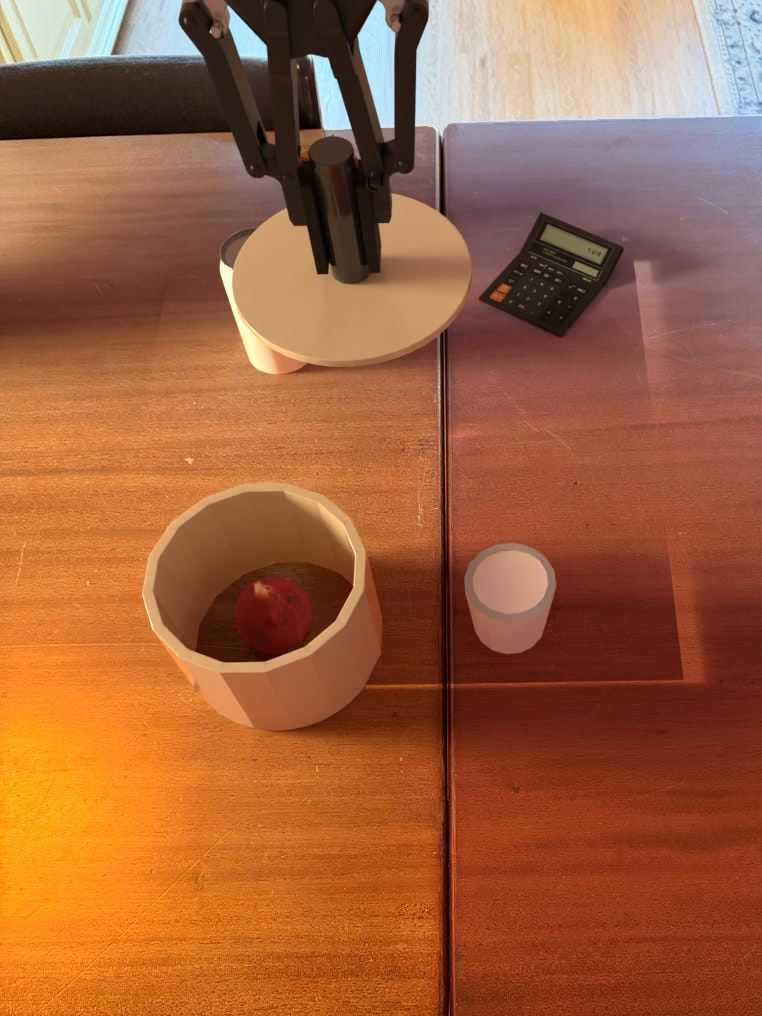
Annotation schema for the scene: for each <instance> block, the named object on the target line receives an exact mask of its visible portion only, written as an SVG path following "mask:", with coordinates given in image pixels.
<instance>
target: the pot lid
mask: <svg viewBox="0 0 762 1016" xmlns="http://www.w3.org/2000/svg"><path fill="white" fill-rule="evenodd" d="M310 145H311V146H310V147H309V149H307V150H308V157H309V162H310V167H311V172H312V177H313V182H314V187H315V192H316V197H317V202H318V207H319V212H320V218H321V223H322V228H323V233H324V238H325V243H326V248H327V253H328V258H329V272H328V274H321V275H317V271H316V266H315V262H314V257H313V252H312V248H311V243H310V239H309V234H308V229H307V226H294V225H293V224H292V223H291V221H290V220H289V215H288V211H287V207H285V208H283V209H282V210H280V211H278V212H277V213H275V214H273V215H272V216H271V217H269V218H268V219H267V220H266V221H264V222H263V223H262V224H260V225H259V226H260V227H259V228H258V229H256V230H255V231H254V232H253V234H252V235H251V236H250V237H249V238H248V240H247V241H246V242H245V244H244V245H243V247H242V249H241V250H240V252H239V254H238V256H237V259H236V261H235V264H234V268H233V273H232V293H233V298H234V301H235V304H236V307H237V310H238V313H239V315H240V317H241V319H242V320H243V322H244V324H245V325H246V326H247V328H248V329H249V330H250V331H251V333H252V334H254V335H255V336H256V337H257V338H258V339H259V340H260V341H261V342H262V343H264V344H265V345H267V346H268V347H270V348H271V349H273V350H275V351H277V352H279V353H281V354H283V355H285V356H287V357H290V358H293V359H295V360H298V361H302V362H306V363H307V364H310V365H316V366H324V367H331V368H352V367H365V366H370V365H376V364H382V363H385V362H389V361H391V360H395V359H398V358H401V357H403V356H405V355H408V354H410V353H412V352H415V351H416V350H418V349H421V348H423V347H424V346H427V344H429V343H430V342H432V341H433V340H435V339H436V338H437V337H438V336H440V335H441V334H442V333H443V332H444V331H445V330H447V329H448V327H449V326H450V325H451V324H452V323H453V322H454V321H455V320H456V319H457V317H458V316H459V314H460V313H461V311H462V310H463V308H464V306H465V304H466V301H467V300H468V298H469V294H470V290H471V287H472V279H473V277H472V276H473V268H472V267H473V266H472V259H471V254H470V251H469V247H468V245H467V243H466V241H465V239H464V237H463V235H462V234H461V233H460V231H459V229H457V227H456V226H455V224H453V223H452V222H451V221H450V220H449V218H447V217H446V216H445V215H443V214H442V213H440V212H439V211H438V210H436V209H434V208H433V207H431V206H430V205H427V203H424V202H422V201H419V200H417V199H415V198H411V197H408V196H405V195H402V194H398V193H393V192H391V196H392V217H391V220H390V223H379V230H380V238H381V267H380V273H369V269H368V263H367V256H366V250H365V243H364V237H363V230H362V224H361V218H360V211H359V205H358V198H357V192H356V179H357V166H356V159H355V157H356V153H355V148H354V147H355V146H354V145H353V144H352V142H351V141H350V140H348V139H347V138H345V137H342V136H338V135H334V136H331V135H329V136H326V137H325V136H323V137H321V138H318V139H316V140H314V141H313V142H312V143H311V144H310Z"/></svg>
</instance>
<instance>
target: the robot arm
mask: <svg viewBox="0 0 762 1016" xmlns="http://www.w3.org/2000/svg"><path fill="white" fill-rule="evenodd" d="M377 2H379V3H381V4H382V6H383V8H384V11H385V17H384V20H385V23H386V26H387V27H388V28H389V29H390V30H391V31H392V32H393V33H394V52H393V53H394V54H393V60H394V61H393V104H394V105H393V111H394V113H393V116H394V117H393V124H394V125H393V129H394V130H393V136H394V137H393V139H389V140H387V141H385V138H384V134H383V130H382V126H381V123H380V119H379V115H378V111H377V107H376V105H375V100H374V97H373V94H372V90H371V86H370V83H369V79H368V74H367V71H366V67H365V63H364V60H363V56H362V53H361V48H360V42H359V40H360V39H359V34H360V32H361V31H362V29H363V27H364V25H365V23H366V22H367V20H368V18H369V16H370V15H371V13H372V11H373V9H374V8H375V7H376V5H377ZM228 7H229V8H230V9H231V10H232V11H233V13H235V14H236V15H237V16H238V18H240V19H241V21H242V22H243V23H244V24H245V25H246V27H248V28H249V29H250V30H251V31H252V33H253V34H254V35H256V36H257V38H258V39H260V41H261V42H262V43H263V45H265V47H266V57H267V59H266V60H267V71H268V78H269V81H270V82H269V83H270V93H271V106H272V119H273V131H274V144H273V143H270V141H269V138H268V136H267V133H266V130H265V127H264V124H263V121H262V118H261V115H260V111H259V109H258V106H257V103H256V101H255V98H254V97H255V96H254V94H253V92H252V88H251V86H250V83H249V80H248V77H247V74H246V71H245V68H244V65H243V63H242V60H241V57H240V54H239V50H238V48H237V45H236V42H235V39H234V36H233V33H232V31H231V29H230V23H231V14H230V11H229V9H228ZM179 9H180V10H179V14H178V18H177V19H178V24H179V26H180V28H181V30H182V31H183V32H184V33H185V35H186V36H187V37H188V39H189V40H190V41H191V43H192V44H193V45H194V47H195V48H196V50H197V51H198V52H199V53H200V55H201V56H202V57H203V60H204V62H205V65H206V68H207V71H208V73H209V76H210V79H211V81H212V83H213V86H214V89H215V92H216V95H217V97H218V99H219V102H220V105H221V108H222V110H223V113H224V116H225V118H226V120H227V123H228V126H229V129H230V131H231V134H232V136H233V139H234V143H235V145H236V147H237V150H238V153H239V156H240V158H241V160H242V163H243V167H244V169H245V171H246V174H248V175H249V176H250V177H252V178H253V179H258V180H259V179H262V178H264V177H265V176H266V177H269V178H273V179H274V180H276V181H277V182H278V183H279V184H280V186H281V190H282V193H283V198H284V202H285V206H286V208H287V211H288V215H289V220H290V221H291V223H292V224H293V225H294V226H307V229H308V234H309V239H310V243H311V248H312V252H313V257H314V262H315V266H316V271H317V275H321V274H328V272H329V258H328V253H327V248H326V243H325V238H324V233H323V228H322V223H321V218H320V212H319V207H318V202H317V197H316V192H315V187H314V182H313V177H312V172H311V167H310V162H309V161H302V166H301V161H300V155H301V153H302V145H301V135H300V133H301V132H300V117H299V116H300V113H299V95H298V75H297V60H298V59H301V58H304V57H307V56H312V55H313V56H315V57H319V58H325V59H328V62H329V66H330V70H331V72H332V75H333V78H334V79H335V80H336V82H337V85H338V89H339V92H340V95H341V98H342V102H343V105H344V109H345V111H346V115H347V118H348V121H349V125H350V129H351V131H352V135H353V138H354V141H355V142H354V143H355V145H356V148H357V152H358V155H359V158H358V164H357V179H356V192H357V198H358V205H359V211H360V218H361V224H362V230H363V237H364V243H365V250H366V256H367V263H368V269H369V273H380V267H381V238H380V230H379V223H390V220H391V217H392V196H391V193H392V189H391V179H390V178H391V176H392V175H395V174H397V173H399V174H401V175H408V174H410V173H412V172H413V171H414V170H415V160H416V159H415V156H416V155H415V154H416V153H415V151H416V110H417V109H416V107H417V106H416V105H417V61H418V60H417V59H418V58H417V57H418V56H417V53H418V48H419V45H420V43H421V40H422V37H423V35H424V32H425V29H426V27H427V24H428V22H429V17H430V0H181V4H180V8H179Z"/></svg>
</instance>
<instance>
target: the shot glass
mask: <svg viewBox="0 0 762 1016" xmlns="http://www.w3.org/2000/svg"><path fill="white" fill-rule="evenodd" d="M463 580H464V581H463V582H464V592H465V593H464V594H465V597H466V601H467V604H468V609H469V613H470V616H471V620H472V621H471V622H472V624H473V629H474V632H475V634H476V635H477V637H478V639H479V640H480V642H481V643H482V644H483V645H484V646H486V647H487V648H488V649H490V650H491V651H494V652H496V653H501V654H503V655H510V654H521V653H522V652H525V651H527V650H529V649H531V648H533V647H534V646H535V645H536V644H537V643H538V642H539V640H540V639H541V638H542V636H543V633H544V631H545V627H546V624H547V621H548V617H549V614H550V610H551V606H552V604H553V601H554V600H553V599H554V597H555V593H556V590H557V589H556V588H557V581H556V580H557V579H556V573H555V569H554V568H553V566H552V565H551V563H550V561H549V560H548V558H547V556H545V555H544V554H542V553H541V552H539V551H538V550H536V549H535V548H534V547H532V546H529V545H524V544H521V543H516V542H509V543H496V544H494V545H492V546H490V547H488V548H486V549H483V550H481V551H480V552H479V553H477V555H476V556H474V558H473V559H472V560H471V561H470V562H469V564H468V566H467V568H466V571H465V574H464V576H463Z"/></svg>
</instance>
